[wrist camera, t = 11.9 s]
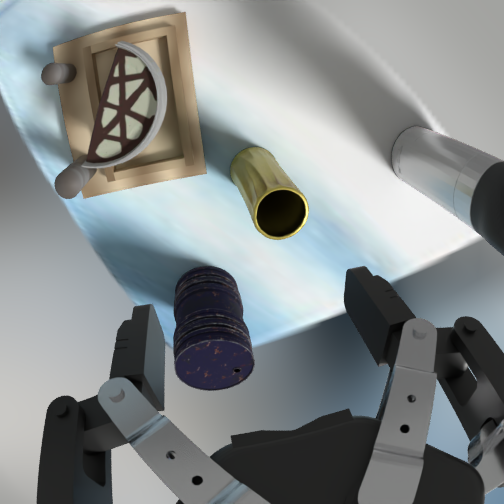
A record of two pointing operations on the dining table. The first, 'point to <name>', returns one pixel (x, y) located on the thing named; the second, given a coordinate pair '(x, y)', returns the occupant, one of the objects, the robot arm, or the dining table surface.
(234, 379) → the storage jar
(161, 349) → the robot arm
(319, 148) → the dining table surface
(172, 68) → the carrier board
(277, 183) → the vase
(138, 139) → the half lattice cake
